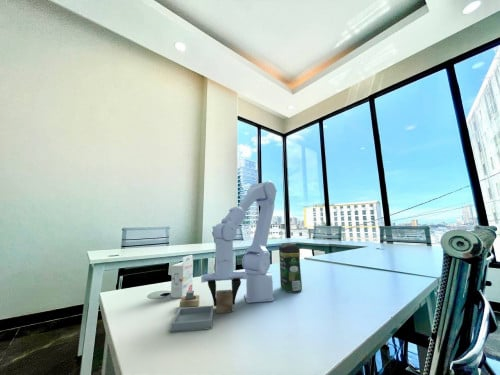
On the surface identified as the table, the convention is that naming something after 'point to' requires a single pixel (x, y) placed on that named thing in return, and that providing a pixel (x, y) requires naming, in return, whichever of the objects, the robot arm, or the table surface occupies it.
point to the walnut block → (224, 301)
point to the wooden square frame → (189, 302)
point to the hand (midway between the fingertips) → (224, 304)
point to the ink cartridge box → (182, 277)
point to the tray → (193, 319)
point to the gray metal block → (190, 295)
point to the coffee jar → (290, 267)
